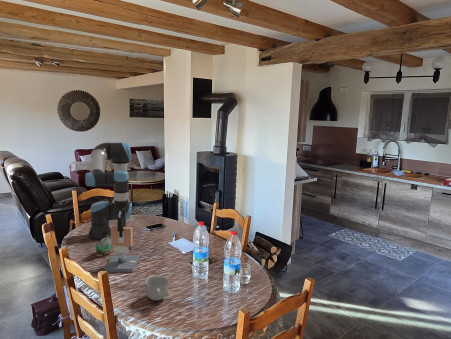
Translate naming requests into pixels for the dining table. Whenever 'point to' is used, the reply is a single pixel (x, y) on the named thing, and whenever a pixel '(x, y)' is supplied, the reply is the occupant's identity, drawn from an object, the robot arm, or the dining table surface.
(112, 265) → the post base
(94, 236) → the robot arm
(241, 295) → the dining table surface
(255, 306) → the dining table surface
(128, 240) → the brown box
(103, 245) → the food container
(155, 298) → the teacup
